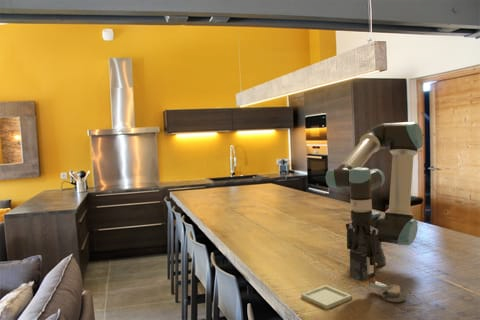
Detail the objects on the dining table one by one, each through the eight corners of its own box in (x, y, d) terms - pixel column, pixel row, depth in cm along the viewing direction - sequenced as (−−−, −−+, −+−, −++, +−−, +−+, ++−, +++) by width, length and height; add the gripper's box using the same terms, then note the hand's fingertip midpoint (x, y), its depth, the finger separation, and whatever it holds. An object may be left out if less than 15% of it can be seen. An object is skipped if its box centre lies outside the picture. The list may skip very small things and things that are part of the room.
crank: (402, 294, 145) (402, 268, 145) (395, 298, 143) (394, 271, 142) (371, 284, 156) (371, 259, 155) (364, 287, 154) (363, 262, 153)
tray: (301, 297, 151) (301, 293, 151) (325, 288, 158) (325, 284, 158) (326, 309, 140) (326, 305, 140) (351, 299, 148) (351, 295, 147)
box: (362, 282, 146) (361, 253, 145) (350, 277, 150) (348, 250, 149) (376, 276, 150) (375, 248, 149) (364, 272, 155) (362, 245, 154)
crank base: (377, 298, 147) (377, 295, 147) (391, 292, 152) (390, 289, 151) (396, 305, 140) (396, 302, 140) (410, 299, 145) (410, 295, 145)
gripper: (335, 208, 154) (337, 266, 156) (375, 215, 138) (378, 280, 140) (348, 204, 158) (350, 261, 160) (389, 211, 142) (391, 275, 144)
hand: (363, 270), depth 150 cm, fingers closed on box, 6 cm apart
